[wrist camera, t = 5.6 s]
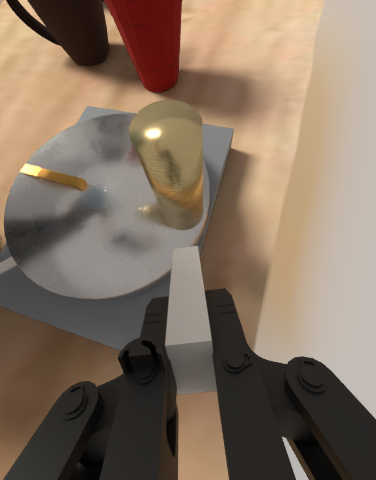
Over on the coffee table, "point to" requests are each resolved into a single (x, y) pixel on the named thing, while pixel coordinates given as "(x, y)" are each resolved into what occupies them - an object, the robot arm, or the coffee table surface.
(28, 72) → the coffee table surface
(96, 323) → the stand
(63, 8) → the mug
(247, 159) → the coffee table surface
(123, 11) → the plastic cup
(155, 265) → the silver disc with stripe
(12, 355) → the coffee table surface
